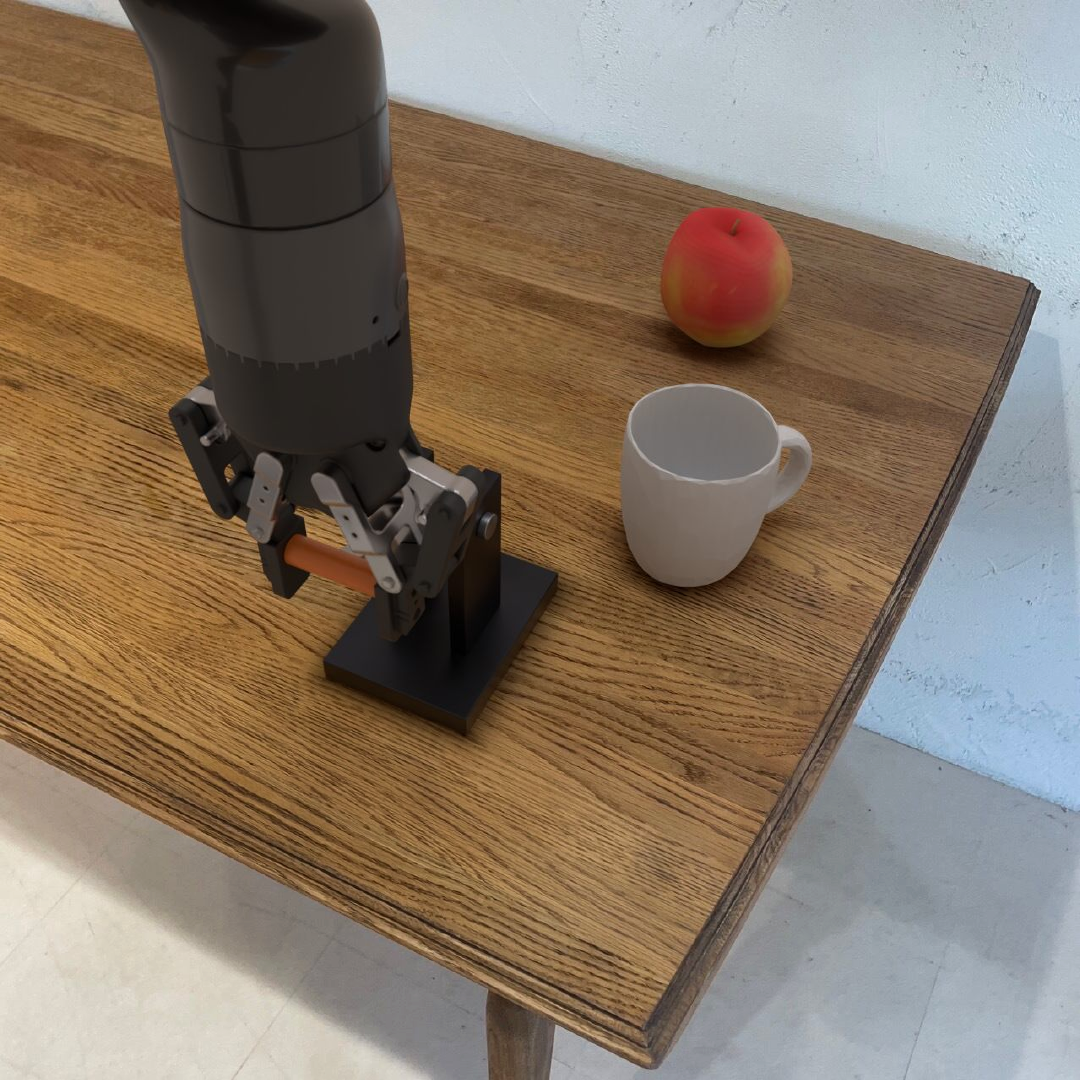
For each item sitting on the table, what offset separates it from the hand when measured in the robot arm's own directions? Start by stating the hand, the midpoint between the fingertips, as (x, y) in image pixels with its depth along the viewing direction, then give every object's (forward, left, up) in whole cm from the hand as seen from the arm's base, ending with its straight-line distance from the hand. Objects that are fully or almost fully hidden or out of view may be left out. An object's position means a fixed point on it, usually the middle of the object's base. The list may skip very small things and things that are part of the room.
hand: (345, 605), depth 53 cm
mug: (+25, -3, -12) cm, 28 cm away
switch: (+4, +2, -1) cm, 4 cm away
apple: (+43, +11, -12) cm, 46 cm away
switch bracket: (+8, +3, -12) cm, 15 cm away
